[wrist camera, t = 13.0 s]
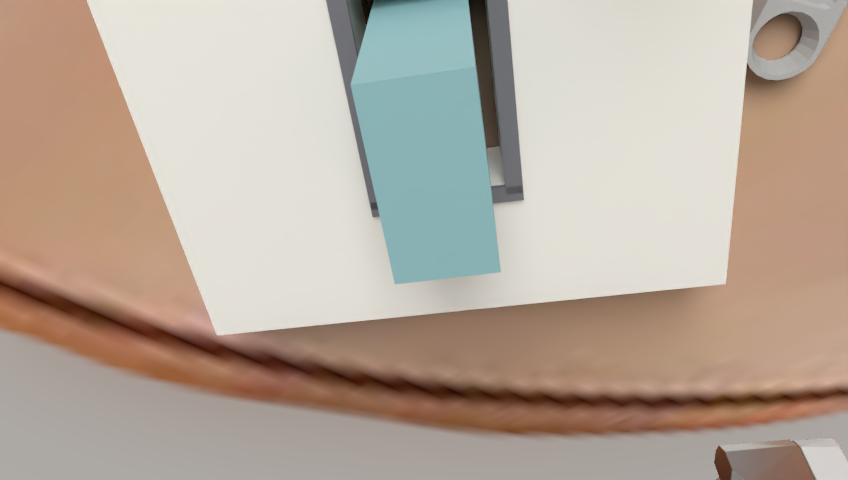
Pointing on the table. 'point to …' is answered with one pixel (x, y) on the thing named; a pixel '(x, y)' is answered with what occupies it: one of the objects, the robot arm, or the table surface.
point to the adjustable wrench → (818, 13)
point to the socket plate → (508, 163)
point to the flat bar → (426, 139)
